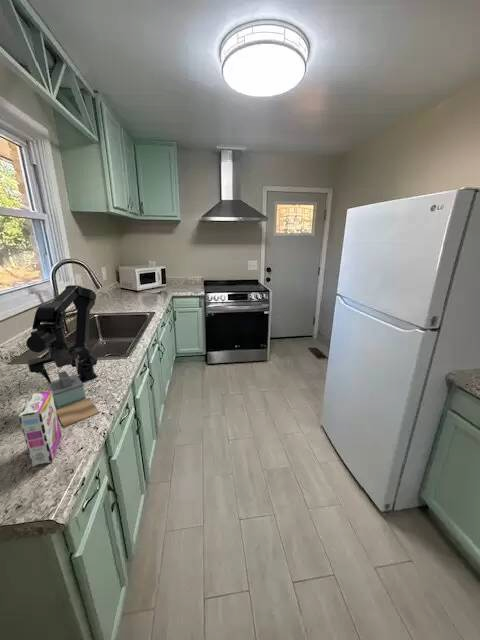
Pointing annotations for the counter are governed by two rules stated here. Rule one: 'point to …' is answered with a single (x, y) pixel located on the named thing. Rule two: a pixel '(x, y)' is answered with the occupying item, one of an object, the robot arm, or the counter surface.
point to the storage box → (69, 397)
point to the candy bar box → (40, 428)
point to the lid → (65, 383)
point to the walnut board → (76, 412)
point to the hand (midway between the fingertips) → (64, 378)
